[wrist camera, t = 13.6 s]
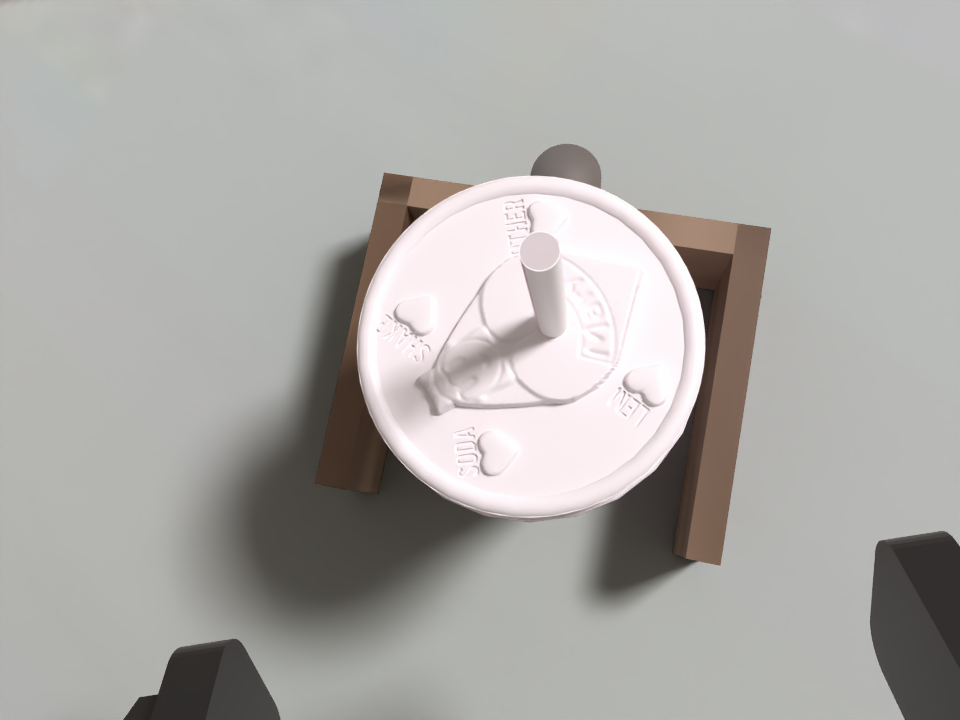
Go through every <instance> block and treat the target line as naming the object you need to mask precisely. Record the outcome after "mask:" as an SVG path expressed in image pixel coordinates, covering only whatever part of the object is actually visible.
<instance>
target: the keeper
mask: <svg viewBox="0 0 960 720" xmlns="http://www.w3.org/2000/svg"><path fill="white" fill-rule="evenodd" d="M531 176H549V177H558V178H564V179H570V180H574V181H578V182H582V183H586V184H588V185H591V186H594V187H597V188H599V189H601V170H600V166H599V164H598V162H597V160H596V158H595V157H594V156H593V155H592V154H591V153H590V152H589V151H588V150H586V149H585V148H582V147H580V146H577V145H573V144H561V145H557V146H554V147H551V148H549V149H548V150H546V151H545V152H543V153H542V154H541V155H540V156H539V157H538V158H537V160H536V161H535V163H534V165H533V168H532V171H531ZM470 187H473V185H466V184H459V183H452V182H445V181H438V180H431V179H424V178H417V177H410V176H403V175H396V174H389V173H384V176H383V180H382V185H381V189H380V194H379V198H378V203H377V207H376V212H375V216H374V220H373V225H372V229H371V234H370V238H369V243H368V247H367V252H366V256H365V261H364V265H363V270H362V274H361V279H360V283H359V288H358V292H357V296H356V301H355V305H354V310H353V314H352V319H351V323H350V328H349V332H348V337H347V341H346V346H345V350H344V355H343V359H342V364H341V368H340V372H339V377H338V381H337V386H336V390H335V395H334V399H333V404H332V408H331V413H330V417H329V422H328V426H327V431H326V435H325V440H324V444H323V449H322V453H321V457H320V462H319V466H318V471H317V475H316V480H315V484H320V485H325V486H330V487H334V488H339V489H344V490H352V491H360V492H368V493H376V494H378V492H379V487H380V482H381V478H382V473H383V468H384V464H385V459H386V454H387V449H388V445H387V444H386V443H385V441H384V439H383V438H382V436H381V434H380V433H379V431H378V430H377V428H376V426H375V424H374V421H373V419H372V417H371V415H370V413H369V410H368V407H367V405H366V402H365V399H364V396H363V392H362V388H361V384H360V378H359V371H358V362H357V336H358V327H359V320H360V315H361V311H362V307H363V303H364V299H365V296H366V294H367V291H368V288H369V285H370V283H371V281H372V279H373V277H374V274H375V272H376V270H377V268H378V267H379V265H380V263H381V262H382V260H383V258H384V256H385V255H386V254H387V252H388V251H389V249H390V248H391V247H392V245H393V244H394V243H395V241H396V240H397V239H398V238H399V237H400V236H401V235H402V233H403V232H404V231H405V230H406V229H407V228H408V227H409V226H410V225H411V224H412V223H413V222H414V221H416V220H417V219H418V218H419V217H420V216H422V215H423V214H424V213H425V212H427V211H428V210H429V209H431V208H432V207H434V206H435V205H437V204H438V203H440V202H441V201H443V200H445V199H447V198H449V197H451V196H452V195H454V194H456V193H458V192H461V191H463V190H465V189H468V188H470ZM637 210H638V211H640V212H641V213H642V214H644V215H645V216H646V217H647V218H648V219H649V220H650V221H651V222H653V223H654V224H655V225H656V226H657V227H658V228H659V229H660V231H661V232H662V233H663V234H664V235H665V236H666V237H667V238H668V240H669V241H670V242H671V244H672V245H673V246H674V248H675V249H676V250H677V252H678V253H679V255H680V257H681V258H682V260H683V262H684V264H685V265H686V267H687V269H688V271H689V273H690V276H691V278H692V280H693V282H694V285H695V287H696V288H702V289H709V290H714V293H713V299H712V306H711V312H710V318H709V324H708V331H707V337H706V343H705V360H704V369H703V374H702V380H701V384H700V388H699V393H698V395H697V400H696V406H695V412H694V419H693V425H692V431H691V437H690V444H689V450H688V456H687V463H686V469H685V475H684V481H683V488H682V494H681V500H680V506H679V513H678V519H677V525H676V532H675V538H674V544H673V550H672V553H673V554H675V555H678V556H680V557H683V558H685V559H690V560H695V561H700V562H705V563H710V564H715V565H720V564H721V558H722V551H723V545H724V538H725V531H726V525H727V518H728V511H729V505H730V498H731V491H732V485H733V478H734V472H735V465H736V458H737V452H738V445H739V438H740V432H741V425H742V418H743V412H744V405H745V398H746V392H747V385H748V379H749V372H750V365H751V359H752V352H753V345H754V339H755V332H756V325H757V319H758V312H759V306H760V299H761V292H762V286H763V279H764V272H765V266H766V259H767V252H768V246H769V239H770V233H771V228H765V227H758V226H751V225H744V224H737V223H731V222H724V221H717V220H710V219H703V218H696V217H689V216H682V215H675V214H668V213H661V212H654V211H647V210H640V209H637Z"/></svg>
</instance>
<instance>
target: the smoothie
mask: <svg viewBox="0 0 960 720" xmlns="http://www.w3.org/2000/svg"><path fill="white" fill-rule="evenodd" d="M704 360H705V328H704V320H703V313H702V309H701V305H700V300H699V297H698V294H697V291H696V288H695V285H694V282H693V280H692V278H691V276H690V273H689V271H688V269H687V267H686V265H685V264H684V262H683V260H682V258H681V257H680V255H679V253H678V252H677V250H676V249H675V248H674V246H673V245H672V244H671V242H670V241H669V240H668V238H667V237H666V236H665V235H664V234H663V233H662V232H661V231H660V229H659V228H658V227H657V226H656V225H655V224H654V223H653V222H651V221H650V220H649V219H648V218H647V217H646V216H645V215H644V214H642V213H641V212H640V211H638V210H637V209H636V208H634V207H633V206H632V205H630V204H628V203H627V202H625V201H623V200H622V199H620V198H618V197H617V196H615V195H612V194H610V193H608V192H606V191H604V190H602V189H599V188H597V187H594V186H591V185H588V184H586V183H582V182H578V181H574V180H570V179H564V178H558V177H549V176H518V177H510V178H503V179H498V180H493V181H489V182H485V183H482V184H479V185H476V186H473V187H470V188H468V189H465V190H463V191H461V192H458V193H456V194H454V195H452V196H451V197H449V198H447V199H445V200H443V201H441V202H440V203H438V204H437V205H435V206H434V207H432V208H431V209H429V210H428V211H427V212H425V213H424V214H423V215H422V216H420V217H419V218H418V219H417V220H416V221H414V222H413V223H412V224H411V225H410V226H409V227H408V228H407V229H406V230H405V231H404V232H403V233H402V235H401V236H400V237H399V238H398V239H397V240H396V241H395V243H394V244H393V245H392V247H391V248H390V249H389V251H388V252H387V254H386V255H385V256H384V258H383V260H382V262H381V263H380V265H379V267H378V268H377V270H376V272H375V274H374V277H373V279H372V281H371V283H370V285H369V288H368V291H367V294H366V296H365V299H364V303H363V307H362V311H361V315H360V320H359V327H358V336H357V362H358V371H359V378H360V384H361V388H362V392H363V396H364V399H365V402H366V405H367V407H368V410H369V413H370V415H371V417H372V419H373V421H374V424H375V426H376V428H377V430H378V431H379V433H380V434H381V436H382V438H383V439H384V441H385V443H386V444H387V445H388V447H389V448H390V449H391V451H392V452H393V453H394V455H395V456H396V457H397V458H398V459H399V460H400V461H401V463H402V464H403V465H404V466H405V467H406V468H407V469H408V470H409V471H410V472H411V473H413V474H414V475H415V476H416V477H417V478H418V479H419V480H421V481H422V482H423V483H425V484H426V485H428V486H429V487H430V488H432V489H433V490H434V491H435V492H437V493H438V494H439V495H440V496H442V497H443V498H444V499H447V500H449V501H451V502H454V503H456V504H458V505H461V506H463V507H465V508H468V509H470V510H472V511H475V512H477V513H479V514H482V515H484V516H489V517H496V518H503V519H510V520H517V521H525V522H537V521H544V520H552V519H560V518H568V517H576V516H578V515H581V514H583V513H586V512H588V511H590V510H593V509H595V508H598V507H600V506H602V505H605V504H607V503H610V502H612V501H614V500H617V499H619V498H620V497H622V496H623V495H624V494H625V493H627V492H628V491H629V490H631V489H632V488H633V487H634V486H636V485H637V484H638V483H640V482H641V481H642V480H643V479H645V478H646V477H647V476H649V475H650V474H651V473H652V472H654V471H655V470H656V469H657V467H658V466H659V465H660V463H661V462H662V461H663V459H664V458H665V457H666V455H667V454H668V453H669V451H670V450H671V448H672V447H673V446H674V444H675V443H676V442H677V440H678V439H679V438H680V436H681V435H682V434H683V431H684V429H685V426H686V424H687V421H688V418H689V416H690V413H691V411H692V408H693V406H694V404H695V401H696V398H697V395H698V393H699V388H700V384H701V380H702V374H703V369H704Z"/></svg>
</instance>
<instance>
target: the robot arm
mask: <svg viewBox="0 0 960 720" xmlns="http://www.w3.org/2000/svg"><path fill="white" fill-rule="evenodd" d="M870 628H871V635H872V641H873V645H874V649H875V653H876V656H877V659H878V662H879V665H880V667H881V670H882V672H883V674H884V677H885V679H886V681H887V683H888V685H889V687H890V689H891V691H892V693H893V695H894V698H895V700H896V702H897V704H898V706H899V708H900V710H901V712H902V714H903V717H904V719H905V720H960V546H959V545H958V543H957V542H956V541H955V539H954V538H953V537H952V536H951V535H950V534H948V533H947V532H945V531H939V532H933V533H926V534H920V535H913V536H907V537H901V538H894V539H888V540H881V541H879V542H878V544H877V546H876V551H875V563H874V576H873V589H872V601H871V614H870ZM124 720H280V716H279V712H278V709H277V707H276V704H275V702H274V701H273V699H272V697H271V695H270V693H269V691H268V690H267V688H266V686H265V684H264V682H263V680H262V679H261V677H260V675H259V673H258V671H257V669H256V668H255V666H254V664H253V662H252V660H251V658H250V657H249V655H248V653H247V651H246V649H245V648H244V646H243V644H242V643H241V642H240V641H239V640H237V639H230V640H223V641H217V642H211V643H204V644H198V645H191V646H185V647H180V648H178V649H176V650H175V651H174V653H173V654H172V656H171V657H170V660H169V662H168V665H167V668H166V671H165V674H164V678H163V681H162V684H161V687H160V690H159V693H158V695H152V696H145V697H139V699H138V700H137V702H136V703H135V704H134V706H133V707H132V708H131V710H130V711H129V713H128V714H127V715H126V717H125V718H124Z"/></svg>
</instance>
